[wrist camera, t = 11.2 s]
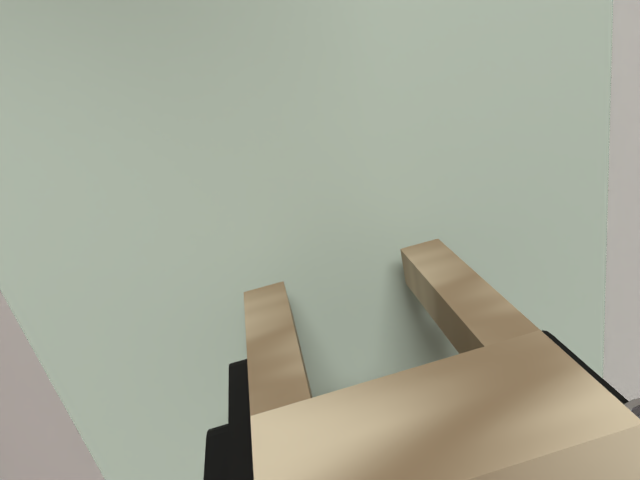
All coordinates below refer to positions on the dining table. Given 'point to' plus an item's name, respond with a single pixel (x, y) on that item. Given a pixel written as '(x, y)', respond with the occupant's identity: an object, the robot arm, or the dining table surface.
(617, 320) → the dining table surface
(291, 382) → the stool
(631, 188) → the dining table surface
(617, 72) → the dining table surface
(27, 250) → the mat
